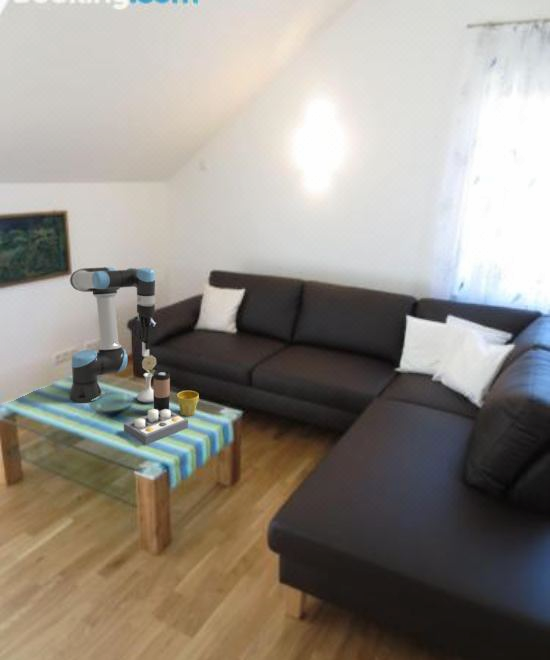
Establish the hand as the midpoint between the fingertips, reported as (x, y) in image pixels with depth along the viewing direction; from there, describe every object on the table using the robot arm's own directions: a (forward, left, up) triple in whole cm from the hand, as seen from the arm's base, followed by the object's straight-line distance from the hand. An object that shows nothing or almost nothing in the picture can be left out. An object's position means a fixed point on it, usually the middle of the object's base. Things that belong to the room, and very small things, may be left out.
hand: (145, 355), depth 221 cm
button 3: (+8, +6, -31) cm, 33 cm away
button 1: (+8, -8, -31) cm, 33 cm away
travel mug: (-4, +12, -33) cm, 35 cm away
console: (+10, -1, -32) cm, 34 cm away
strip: (+15, -1, -28) cm, 32 cm away
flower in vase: (-18, +15, -33) cm, 40 cm away
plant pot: (+6, +20, -33) cm, 39 cm away
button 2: (+8, -1, -29) cm, 30 cm away
